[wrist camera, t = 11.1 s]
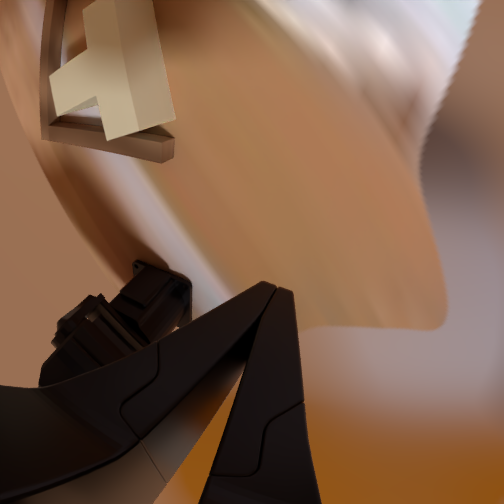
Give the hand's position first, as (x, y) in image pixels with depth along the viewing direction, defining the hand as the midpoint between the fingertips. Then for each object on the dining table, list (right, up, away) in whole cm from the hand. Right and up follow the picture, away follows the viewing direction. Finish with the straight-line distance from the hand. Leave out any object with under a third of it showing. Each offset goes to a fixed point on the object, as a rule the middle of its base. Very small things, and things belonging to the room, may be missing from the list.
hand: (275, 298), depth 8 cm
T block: (-10, +15, +11) cm, 21 cm away
